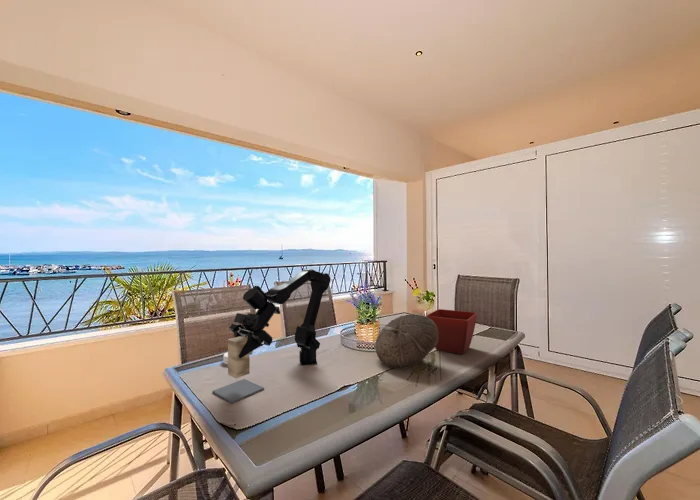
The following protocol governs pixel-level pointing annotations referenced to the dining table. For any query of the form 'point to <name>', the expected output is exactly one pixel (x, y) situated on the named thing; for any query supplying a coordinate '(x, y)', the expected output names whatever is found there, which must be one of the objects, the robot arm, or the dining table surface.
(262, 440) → the dining table surface
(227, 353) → the white short cylinder
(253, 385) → the charcoal mat
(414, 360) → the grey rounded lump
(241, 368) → the beech block
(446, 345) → the plant pot
